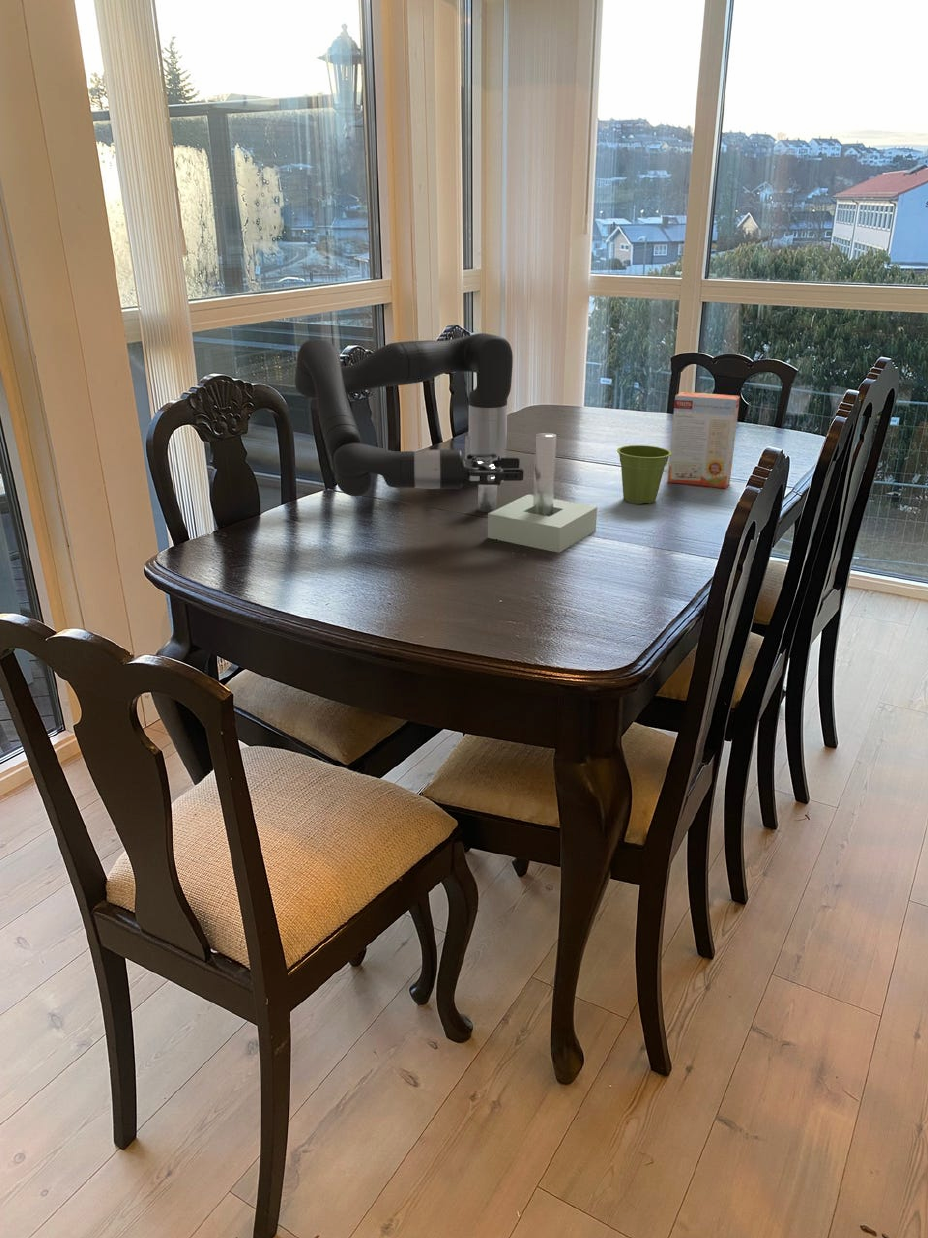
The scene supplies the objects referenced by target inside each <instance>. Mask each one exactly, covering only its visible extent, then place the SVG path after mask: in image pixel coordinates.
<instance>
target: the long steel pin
mask: <svg viewBox="0 0 928 1238" xmlns="http://www.w3.org/2000/svg"><path fill="white" fill-rule="evenodd" d="M534 437H535V438H534V440H535V441H534V467H533V493H532V495H533V513H534V514H539V515H544V516H549V517H550V516H552V515H553V499H555V498H554V497H555V496H554V492H555V473H556V471H555V470H556V454H557V453H556V452H557V451H556V449H557V448H556V447H557V434H555V433H550V432H542V433H541V432H540V433H536V434H535V435H534Z"/></svg>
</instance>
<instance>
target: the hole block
mask: <svg viewBox="0 0 928 1238" xmlns="http://www.w3.org/2000/svg"><path fill="white" fill-rule="evenodd" d="M597 517H598V506H595V505H589V504H584V503H578V502H572V501H566V500H562V499H557V498H553V515H552V516H550V517H549V516H544V515H539V514H534V513H533V494H526V495H524V496H522V497H520V498H518V499H516V500H515V499H514V501H512V502H511V501H510V502H509V503H507V504H505V505H503V506H501V507H499V508H497V510H495V511H492V512H487V538H488V539H493V540H496V539H497V541H502V542H507V543H511V544H515V545H519V546H520V545H522V546H525V547H530V548H535V549H537V550H538V549H539V550H544V551H549V552H552V553H553V552H554V553H557V554H558V553H559V554H560V553H561V552H563V551H564V550H567V549H568V548H570V547H572V546H573V545H574V544H576V543H578V542H579V541H581V540H583V539H585V538H586V537H588V536H589V535H591V534H592V533H594V532H596V531H597Z"/></svg>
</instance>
